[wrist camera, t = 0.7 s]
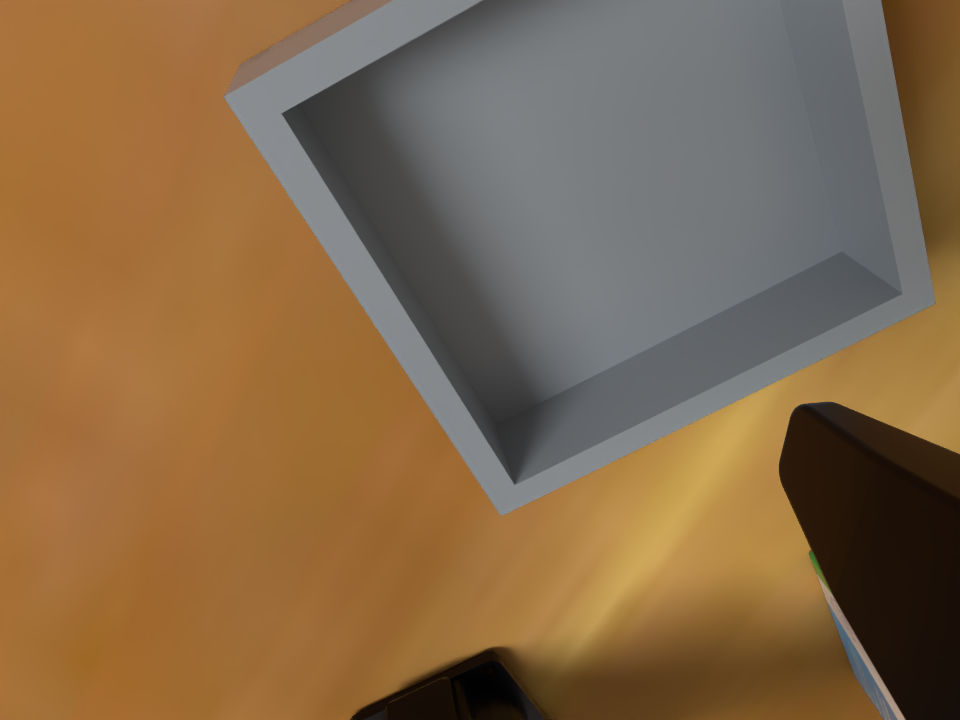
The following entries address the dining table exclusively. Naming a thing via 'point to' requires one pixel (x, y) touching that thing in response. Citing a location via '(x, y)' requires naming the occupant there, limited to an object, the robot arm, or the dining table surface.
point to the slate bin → (597, 205)
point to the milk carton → (859, 657)
